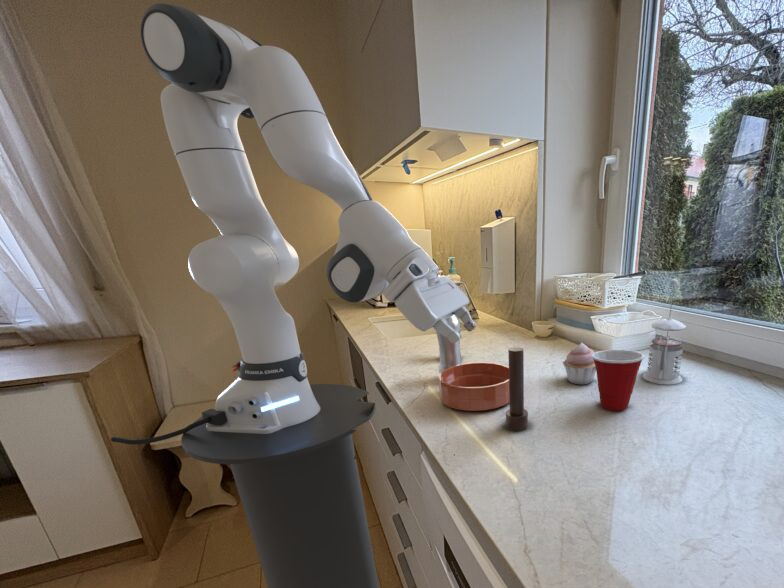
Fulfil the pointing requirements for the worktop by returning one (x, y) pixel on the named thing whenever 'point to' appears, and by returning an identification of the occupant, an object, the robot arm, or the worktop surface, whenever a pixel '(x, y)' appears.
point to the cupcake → (580, 365)
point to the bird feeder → (665, 352)
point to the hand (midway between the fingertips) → (466, 334)
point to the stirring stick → (516, 391)
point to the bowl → (475, 386)
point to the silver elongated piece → (449, 347)
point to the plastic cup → (616, 376)
